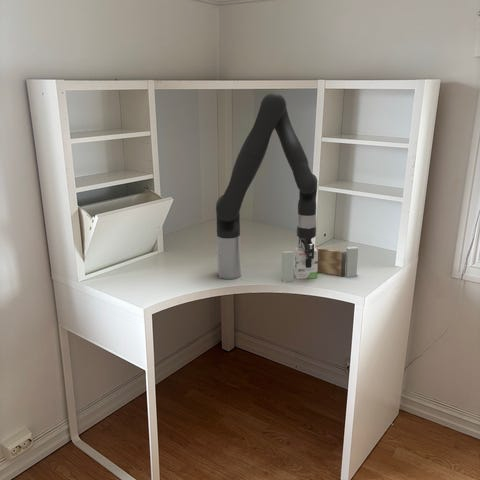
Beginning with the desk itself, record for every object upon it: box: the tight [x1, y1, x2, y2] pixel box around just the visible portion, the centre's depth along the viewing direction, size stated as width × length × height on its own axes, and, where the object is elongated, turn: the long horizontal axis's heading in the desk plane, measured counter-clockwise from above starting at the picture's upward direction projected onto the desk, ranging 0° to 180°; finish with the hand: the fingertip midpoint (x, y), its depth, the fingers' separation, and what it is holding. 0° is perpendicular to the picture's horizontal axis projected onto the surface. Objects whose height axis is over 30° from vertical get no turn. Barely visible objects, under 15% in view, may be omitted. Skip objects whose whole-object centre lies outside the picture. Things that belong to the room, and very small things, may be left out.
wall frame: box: [281, 246, 359, 283], centre depth 195 cm, size 30×2×12 cm, turn 99°
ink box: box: [293, 246, 318, 280], centre depth 197 cm, size 9×5×12 cm, turn 94°
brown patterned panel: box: [314, 246, 346, 277], centre depth 201 cm, size 20×2×10 cm, turn 62°
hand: (305, 263), depth 197 cm, fingers open, 7 cm apart
